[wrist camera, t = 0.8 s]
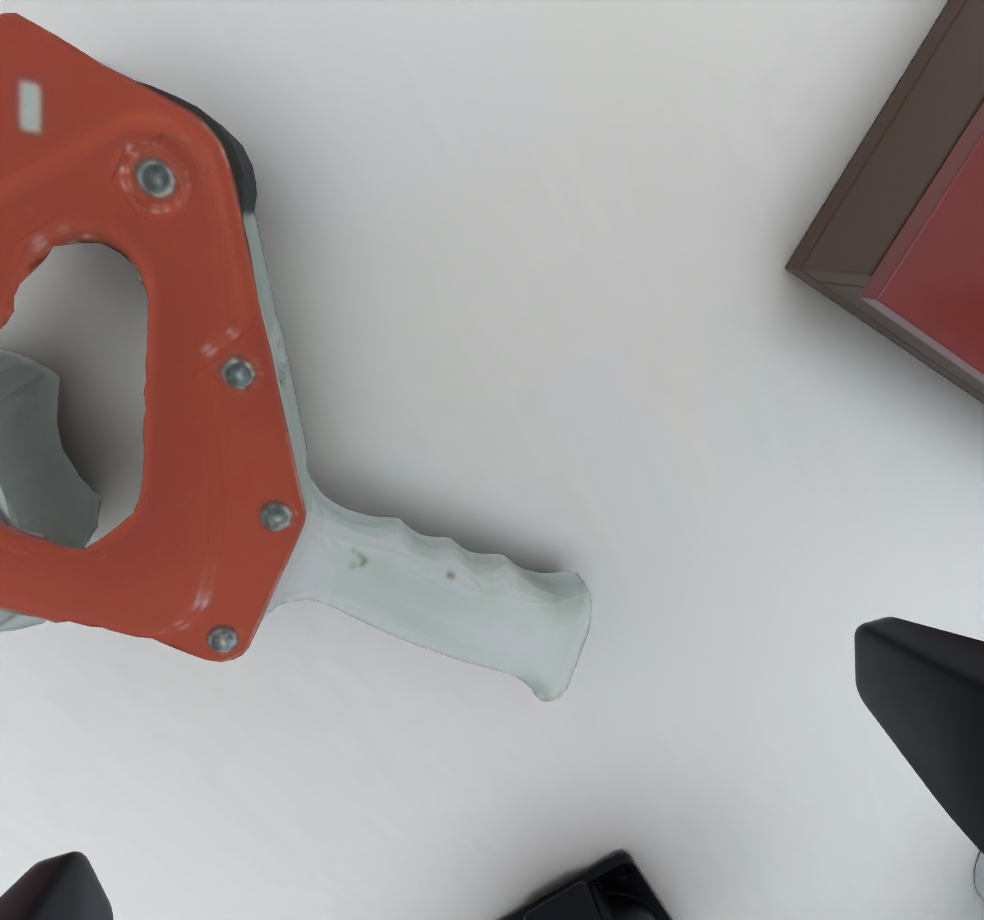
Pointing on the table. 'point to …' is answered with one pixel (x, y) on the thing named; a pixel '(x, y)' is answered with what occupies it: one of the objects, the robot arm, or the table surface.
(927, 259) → the cover
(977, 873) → the coffee cup
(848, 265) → the hinged lid box
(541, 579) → the tape dispenser
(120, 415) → the table surface
